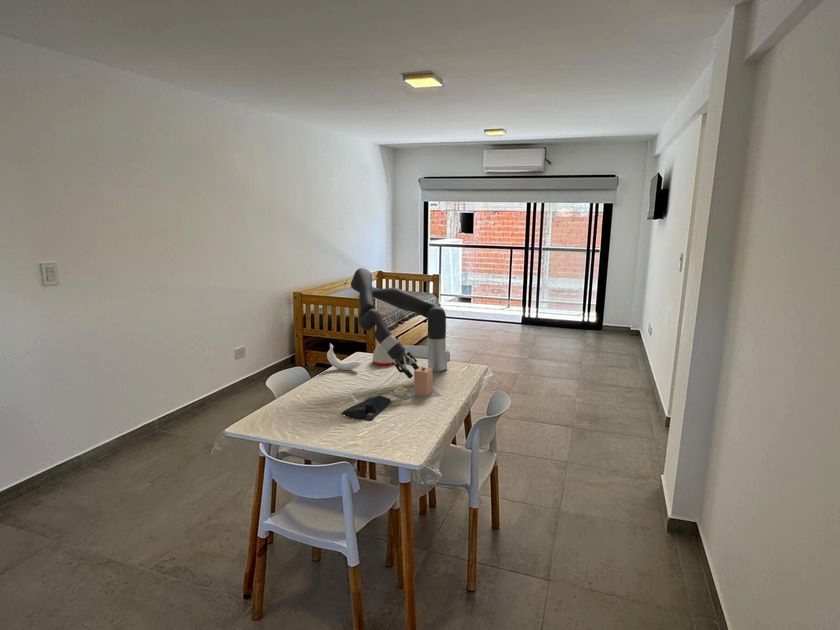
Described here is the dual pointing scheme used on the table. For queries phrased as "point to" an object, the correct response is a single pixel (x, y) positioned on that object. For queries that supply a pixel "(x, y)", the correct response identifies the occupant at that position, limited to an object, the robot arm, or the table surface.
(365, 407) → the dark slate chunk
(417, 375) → the tan rectangular block
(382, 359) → the kitchen timer
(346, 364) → the banana
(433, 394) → the mat
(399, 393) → the dish
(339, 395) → the table surface
